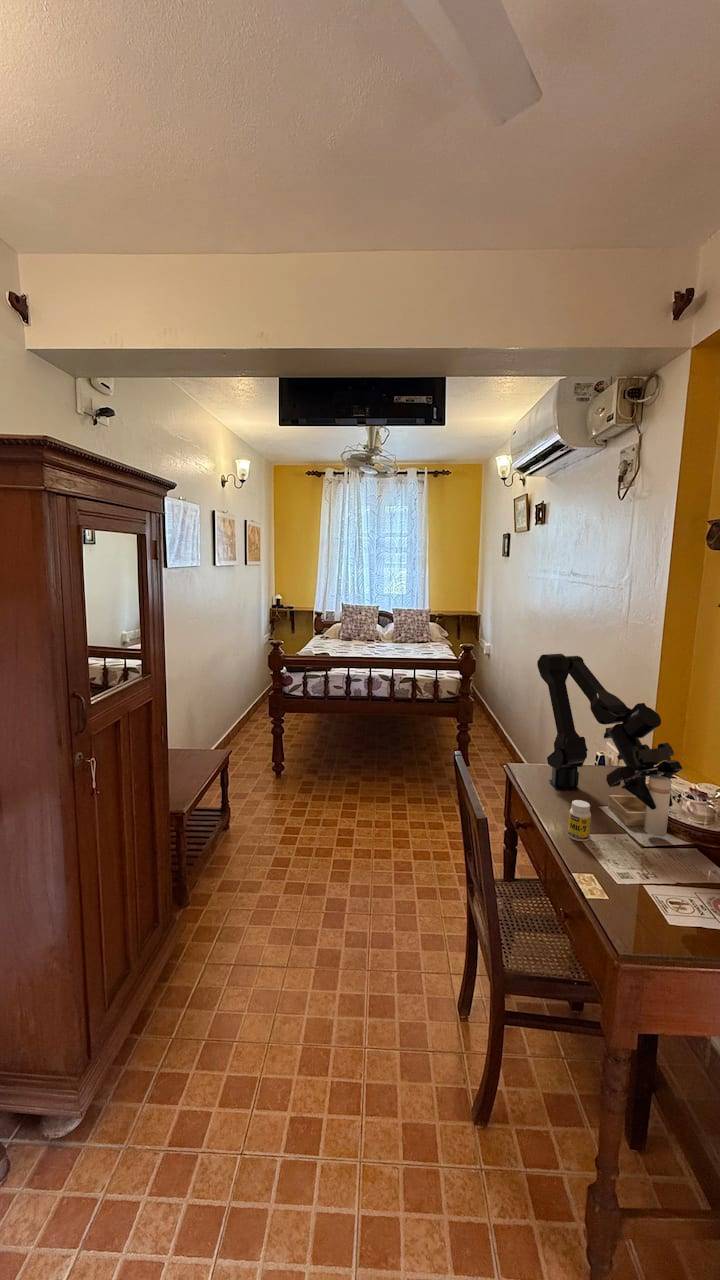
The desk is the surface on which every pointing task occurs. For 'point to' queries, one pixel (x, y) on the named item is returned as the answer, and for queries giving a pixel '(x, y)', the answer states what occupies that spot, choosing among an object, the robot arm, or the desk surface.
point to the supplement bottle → (579, 821)
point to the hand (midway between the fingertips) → (662, 807)
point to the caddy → (628, 809)
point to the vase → (658, 805)
